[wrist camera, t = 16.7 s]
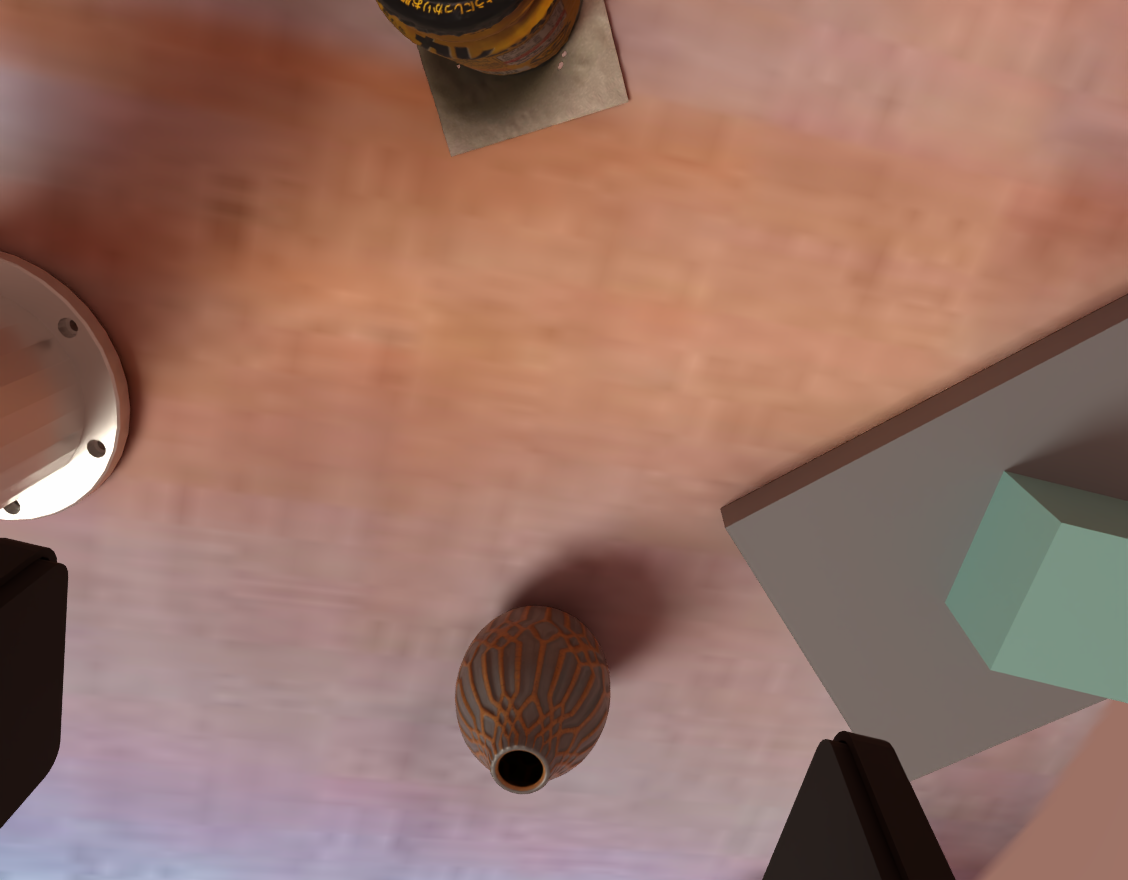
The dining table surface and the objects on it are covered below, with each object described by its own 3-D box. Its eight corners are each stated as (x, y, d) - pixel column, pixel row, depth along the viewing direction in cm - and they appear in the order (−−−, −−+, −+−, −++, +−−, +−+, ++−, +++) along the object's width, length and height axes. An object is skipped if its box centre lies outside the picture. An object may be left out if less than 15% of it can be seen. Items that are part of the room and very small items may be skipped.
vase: (524, 556, 41) (498, 665, 32) (640, 636, 42) (644, 761, 34) (443, 655, 43) (400, 780, 35) (555, 728, 44) (539, 867, 36)
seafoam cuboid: (1085, 636, 38) (1151, 708, 33) (944, 602, 38) (990, 669, 33) (1153, 507, 36) (1233, 564, 31) (1003, 470, 36) (1061, 522, 31)
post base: (877, 761, 43) (911, 847, 38) (720, 508, 39) (734, 566, 34) (1342, 561, 38) (1454, 629, 33) (1216, 247, 34) (1322, 268, 29)
